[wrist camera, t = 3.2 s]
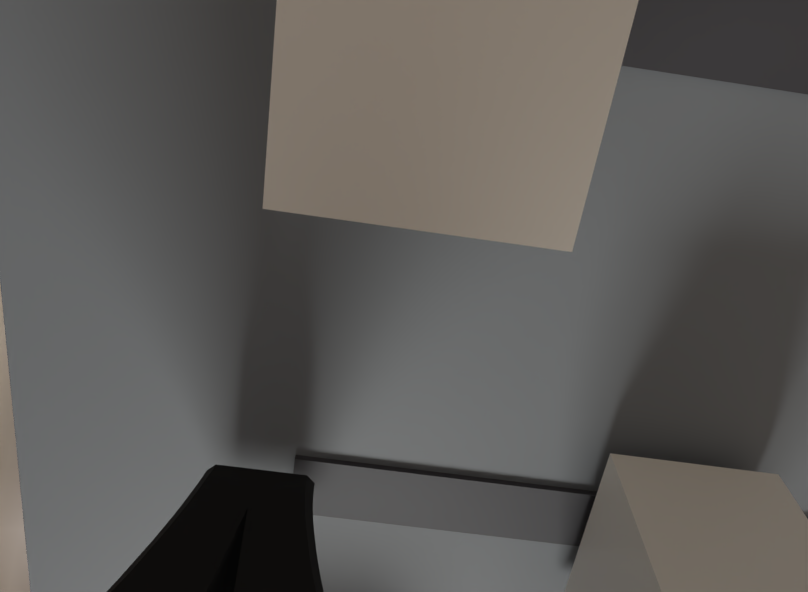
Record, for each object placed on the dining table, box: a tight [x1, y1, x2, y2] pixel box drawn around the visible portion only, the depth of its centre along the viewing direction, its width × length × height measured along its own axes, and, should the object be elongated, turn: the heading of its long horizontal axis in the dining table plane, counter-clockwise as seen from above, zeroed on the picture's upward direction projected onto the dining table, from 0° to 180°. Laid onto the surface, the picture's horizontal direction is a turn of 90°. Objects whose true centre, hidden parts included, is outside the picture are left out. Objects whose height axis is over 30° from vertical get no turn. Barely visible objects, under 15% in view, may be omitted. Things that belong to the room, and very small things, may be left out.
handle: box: [263, 0, 639, 252], centre depth 7 cm, size 2×3×3 cm
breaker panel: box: [0, 0, 808, 592], centre depth 12 cm, size 17×22×1 cm
